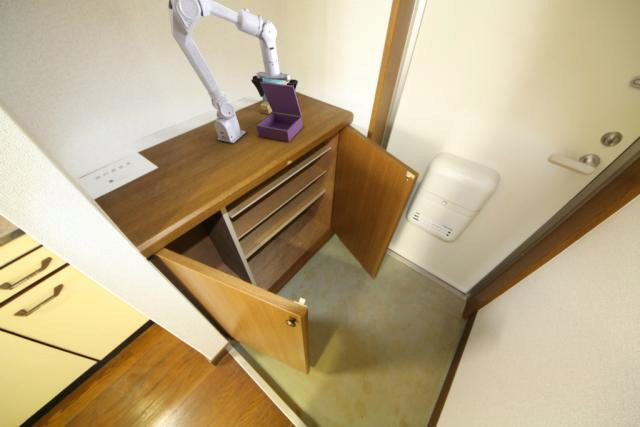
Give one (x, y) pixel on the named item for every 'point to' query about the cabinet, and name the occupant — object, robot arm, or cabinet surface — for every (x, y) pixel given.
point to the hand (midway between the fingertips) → (276, 98)
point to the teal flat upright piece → (271, 82)
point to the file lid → (281, 98)
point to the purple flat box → (280, 126)
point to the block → (265, 108)
